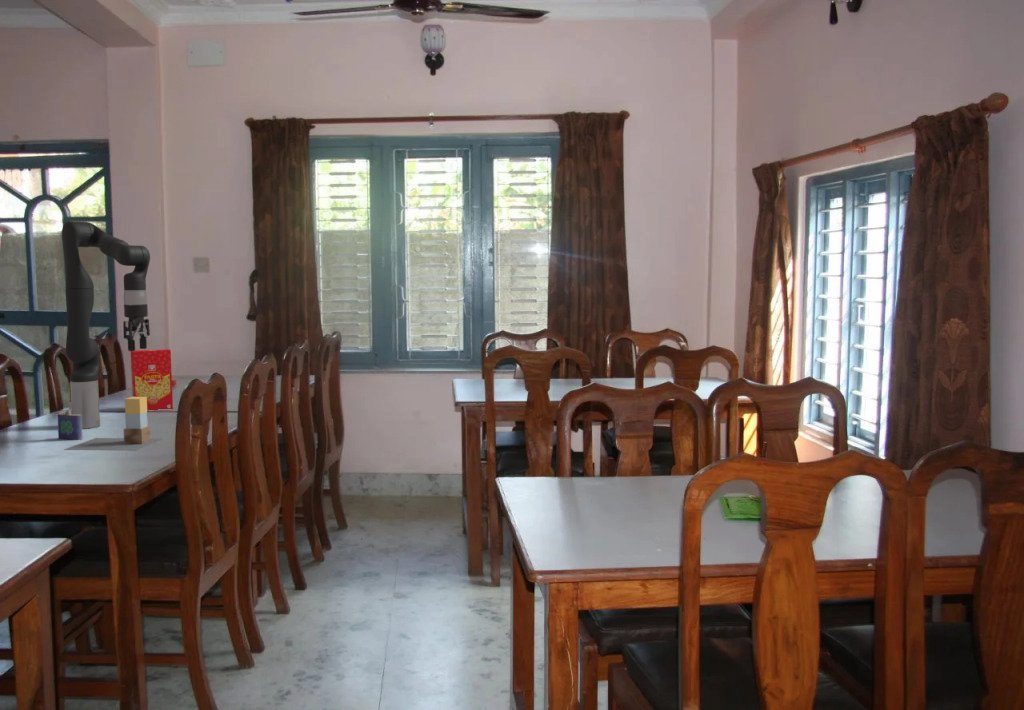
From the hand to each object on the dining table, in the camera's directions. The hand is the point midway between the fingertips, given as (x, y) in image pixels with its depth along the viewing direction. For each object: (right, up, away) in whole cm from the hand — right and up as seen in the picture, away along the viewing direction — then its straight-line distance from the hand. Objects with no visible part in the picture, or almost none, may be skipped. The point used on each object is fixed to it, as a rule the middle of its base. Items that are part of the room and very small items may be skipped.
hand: (137, 349), depth 304 cm
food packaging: (-18, -25, +58) cm, 65 cm away
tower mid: (+5, -26, -13) cm, 30 cm away
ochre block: (+5, -21, -13) cm, 25 cm away
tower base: (+5, -31, -12) cm, 34 cm away
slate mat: (-1, -32, -15) cm, 35 cm away
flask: (-20, -31, -6) cm, 38 cm away
